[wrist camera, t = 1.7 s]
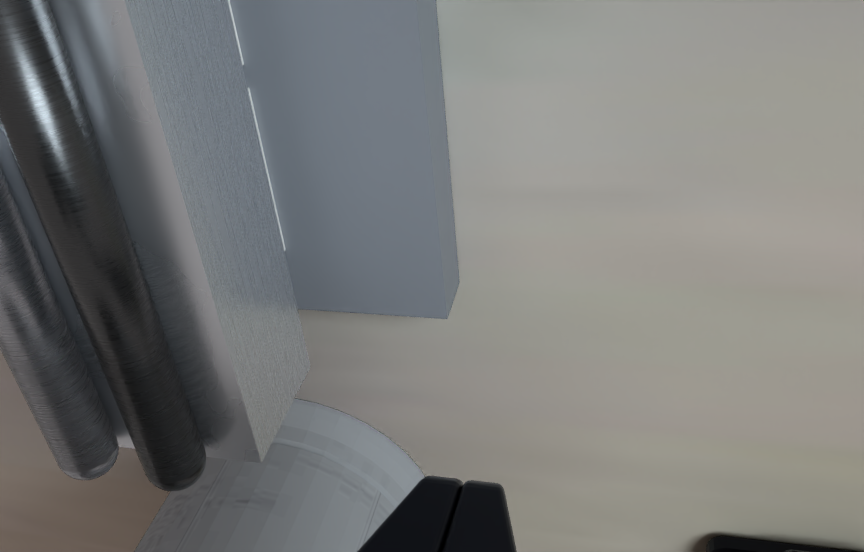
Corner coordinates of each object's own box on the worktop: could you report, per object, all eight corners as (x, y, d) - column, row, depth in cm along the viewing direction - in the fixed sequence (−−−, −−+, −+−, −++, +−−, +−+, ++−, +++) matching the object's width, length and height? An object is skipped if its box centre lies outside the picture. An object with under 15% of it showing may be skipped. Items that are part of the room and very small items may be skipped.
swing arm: (-149, -467, 12) (-549, -543, 8) (144, -523, 11) (-149, -642, 7) (142, 328, 21) (17, 484, 17) (325, 342, 20) (238, 513, 16)
